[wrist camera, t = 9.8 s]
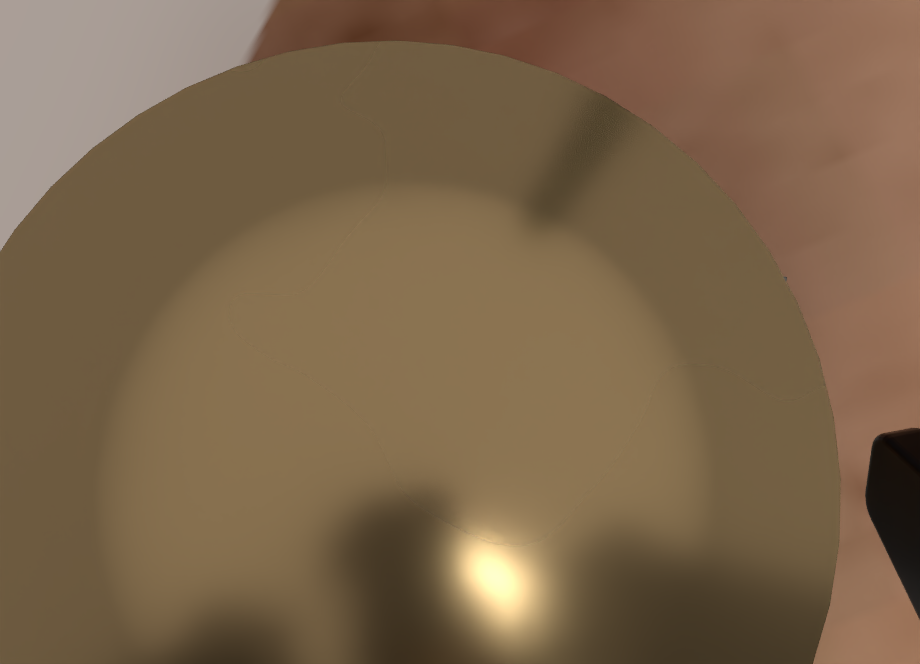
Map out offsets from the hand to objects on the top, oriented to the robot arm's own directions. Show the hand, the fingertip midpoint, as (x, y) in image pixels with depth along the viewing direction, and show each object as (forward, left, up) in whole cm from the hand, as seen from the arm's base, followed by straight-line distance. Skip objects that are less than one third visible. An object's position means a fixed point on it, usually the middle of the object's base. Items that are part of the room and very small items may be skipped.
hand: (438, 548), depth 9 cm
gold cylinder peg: (+1, 0, -9) cm, 9 cm away
